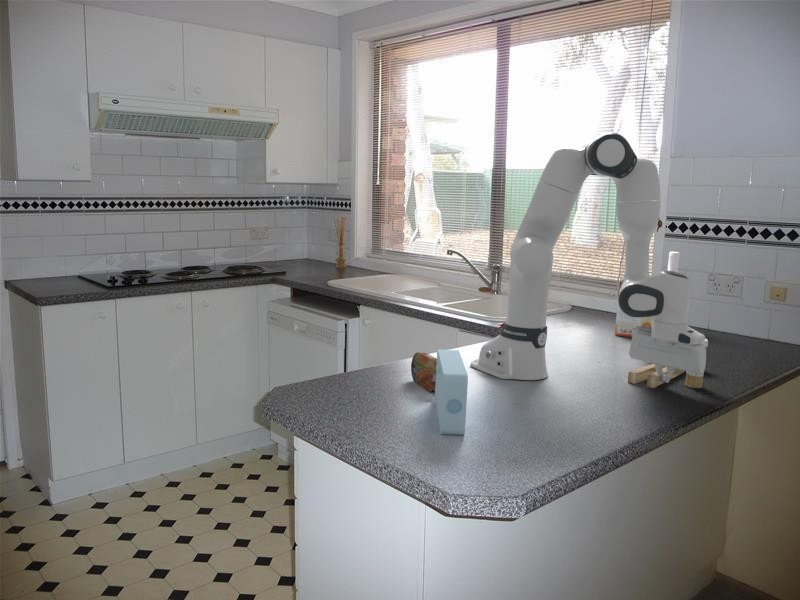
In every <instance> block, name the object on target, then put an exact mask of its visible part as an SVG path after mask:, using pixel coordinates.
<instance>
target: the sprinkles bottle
mask: <svg viewBox="0 0 800 600" xmlns="http://www.w3.org/2000/svg"><path fill="white" fill-rule="evenodd" d="M701 344H703V345H704V346H705V349H706V350H707V349H708V346H709V340H708V339H707V338H705V341H704V342H703V343H701ZM685 372H686V375H685V382H684V385H685V386H686V387H687V388H692V389H701V388H703V381H704V380H703V378H704V373H705V369H704V370H703V371H702V372H700V373H692V372H688V371H685Z"/></svg>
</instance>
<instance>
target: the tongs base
mask: <svg viewBox="0 0 800 600" xmlns="http://www.w3.org/2000/svg"><path fill="white" fill-rule="evenodd" d="M665 367H666V366H664V367H663V368H665ZM663 368H662V369H663ZM655 372H657V371H656V369H655V364H653V363H651V364H649V365H645V366H642V367H639V368H637V369H632V370H630V371H628V375H627V383H630V384H634V385H635V384H638V383H641V382H644V381H647V378H648V376H649V375H651V374H653V373H655Z"/></svg>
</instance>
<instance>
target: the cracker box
mask: <svg viewBox="0 0 800 600" xmlns="http://www.w3.org/2000/svg"><path fill="white" fill-rule="evenodd" d="M623 279H624V277H623V278H620V279H619V285H618V288H619V287H620V285H621V283H622V281H623ZM652 319H653V316H650V317H639V318H635V317H631V316H628V315H626V314H625V313H624V312H623V311H622V310H621V308H620V306H619V302H618V301H617V307H616V318H615V329H614V335H615V336H619V337H626V338H627V337H628V338H632V331H633V329H634V328H636V327H638V326H642V327H646V328H652Z"/></svg>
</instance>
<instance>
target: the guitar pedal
mask: <svg viewBox="0 0 800 600" xmlns="http://www.w3.org/2000/svg"><path fill="white" fill-rule="evenodd" d="M436 358H437V366H436V385H435V391H434V405H435V410H436V416H437V423H438V427H439V435H453V436H455V435H456V436H465V434H466V433H465V432H466V420H467V419H466V418H467V417H466V416H467V403H468V384H469V383H468V382H469V381H468V379H469V376H468V372H467V370H466V366H465V364H464V362H463V359H462V355H461V352H460V350H458V349H457V350H456V349H455V350H454V349H437V353H436Z"/></svg>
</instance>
